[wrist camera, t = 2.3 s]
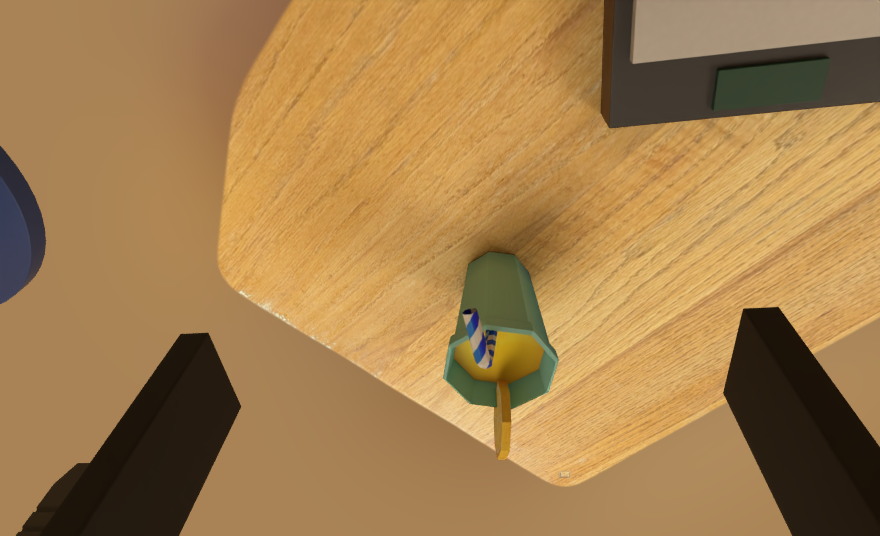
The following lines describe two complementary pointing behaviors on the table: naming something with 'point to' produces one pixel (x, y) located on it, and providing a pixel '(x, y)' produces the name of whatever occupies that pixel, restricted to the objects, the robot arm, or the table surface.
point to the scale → (735, 57)
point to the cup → (500, 342)
